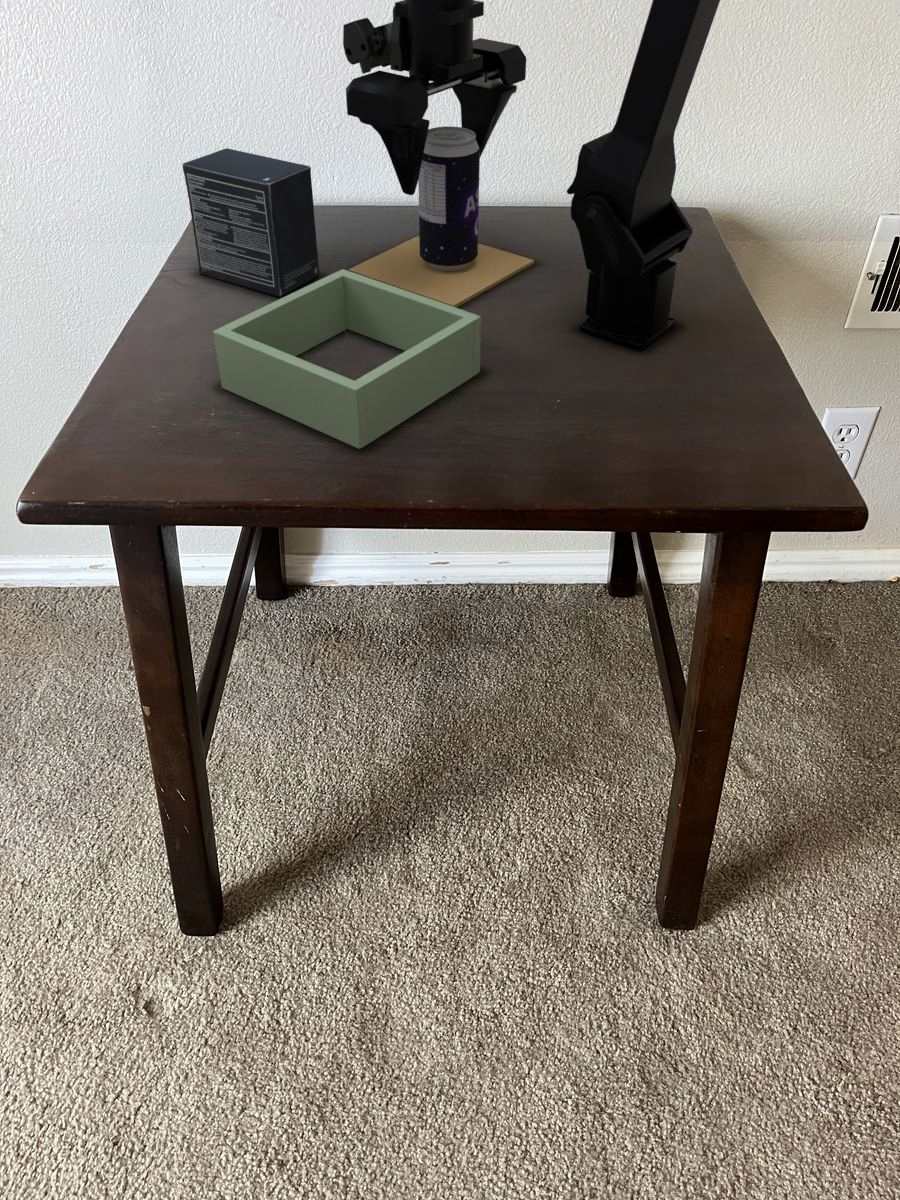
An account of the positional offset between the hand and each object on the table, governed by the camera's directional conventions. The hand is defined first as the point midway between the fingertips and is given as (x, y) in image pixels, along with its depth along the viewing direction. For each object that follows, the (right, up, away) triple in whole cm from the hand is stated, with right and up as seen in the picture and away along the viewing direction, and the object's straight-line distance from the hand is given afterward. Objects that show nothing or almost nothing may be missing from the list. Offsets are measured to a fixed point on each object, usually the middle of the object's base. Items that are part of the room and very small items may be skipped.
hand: (440, 180), depth 97 cm
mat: (0, -6, +5) cm, 9 cm away
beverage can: (+1, -6, +6) cm, 8 cm away
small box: (-17, -8, +4) cm, 20 cm away
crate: (-7, -21, -11) cm, 25 cm away
